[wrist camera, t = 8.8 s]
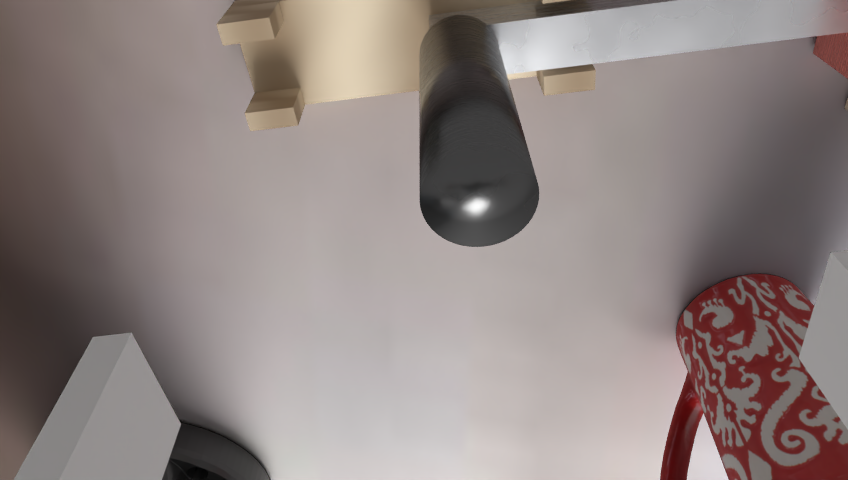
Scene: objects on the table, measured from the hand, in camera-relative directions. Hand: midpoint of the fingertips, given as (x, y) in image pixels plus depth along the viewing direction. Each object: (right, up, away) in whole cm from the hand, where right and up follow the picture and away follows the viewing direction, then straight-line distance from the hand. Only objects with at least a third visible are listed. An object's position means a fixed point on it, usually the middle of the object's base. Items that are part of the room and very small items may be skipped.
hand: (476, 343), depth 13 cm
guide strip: (-2, +11, +14) cm, 18 cm away
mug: (+16, -3, +25) cm, 30 cm away
